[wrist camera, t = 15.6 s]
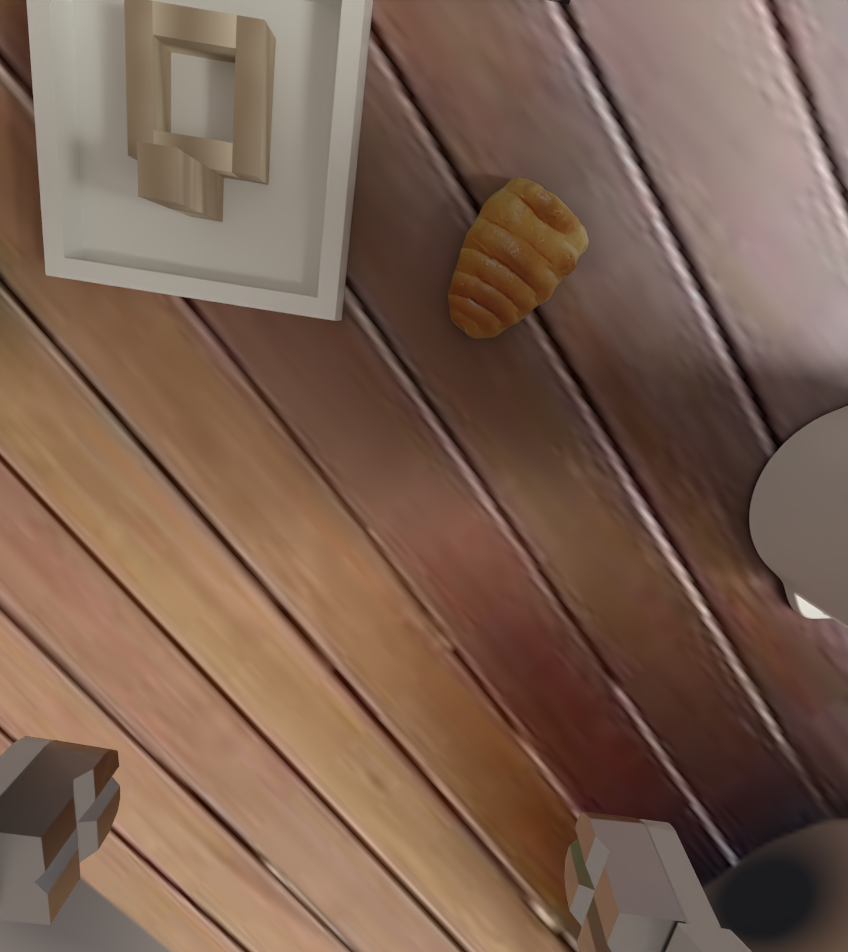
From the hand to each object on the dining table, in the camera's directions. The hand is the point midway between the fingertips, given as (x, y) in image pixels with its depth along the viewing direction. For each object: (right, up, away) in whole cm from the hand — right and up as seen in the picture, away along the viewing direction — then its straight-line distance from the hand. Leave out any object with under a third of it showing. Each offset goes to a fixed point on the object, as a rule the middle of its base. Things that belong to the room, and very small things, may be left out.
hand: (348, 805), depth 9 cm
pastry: (+7, +20, +25) cm, 32 cm away
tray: (-12, +26, +23) cm, 36 cm away
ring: (-12, +27, +22) cm, 36 cm away
